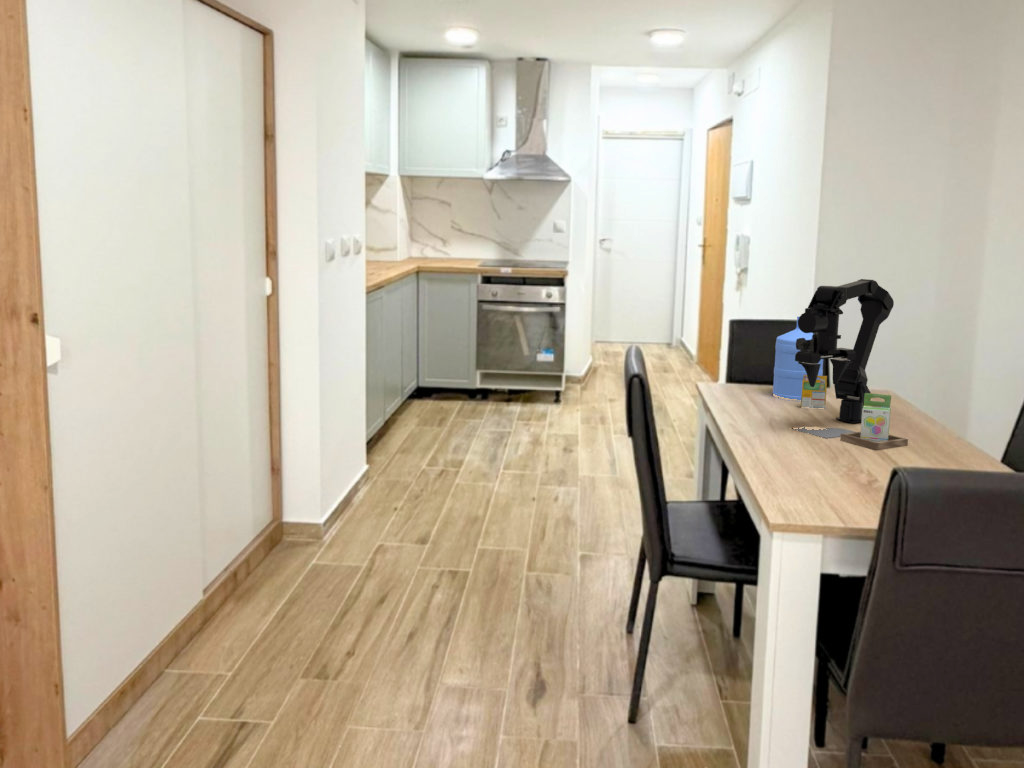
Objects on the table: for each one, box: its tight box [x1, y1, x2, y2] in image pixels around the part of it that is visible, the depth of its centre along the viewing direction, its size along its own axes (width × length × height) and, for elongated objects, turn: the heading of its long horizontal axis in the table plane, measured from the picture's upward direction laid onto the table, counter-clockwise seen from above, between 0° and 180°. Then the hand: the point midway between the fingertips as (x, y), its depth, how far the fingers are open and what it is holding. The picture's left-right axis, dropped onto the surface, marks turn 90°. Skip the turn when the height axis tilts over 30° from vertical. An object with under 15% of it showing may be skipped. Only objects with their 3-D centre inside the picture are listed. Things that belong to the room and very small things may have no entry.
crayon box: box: [800, 375, 828, 410], centre depth 300 cm, size 7×3×12 cm, turn 76°
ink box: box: [860, 393, 892, 442], centre depth 255 cm, size 7×4×13 cm, turn 66°
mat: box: [794, 427, 856, 440], centre depth 269 cm, size 14×14×1 cm
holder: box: [839, 431, 909, 451], centre depth 256 cm, size 12×12×2 cm
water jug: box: [771, 316, 824, 400], centre depth 317 cm, size 16×16×28 cm
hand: (823, 385), depth 271 cm, fingers open, 9 cm apart
